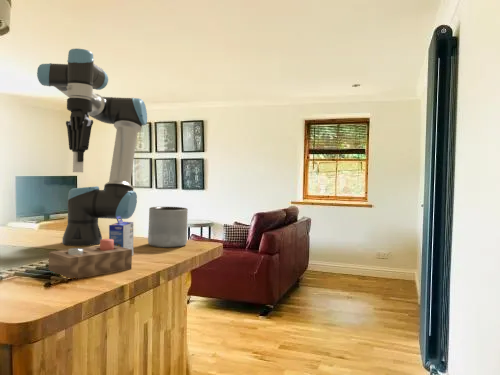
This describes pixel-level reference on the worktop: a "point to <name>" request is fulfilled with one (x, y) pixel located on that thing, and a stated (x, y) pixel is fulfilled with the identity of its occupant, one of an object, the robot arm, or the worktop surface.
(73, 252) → the grey plug
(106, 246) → the red plug
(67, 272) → the walnut block
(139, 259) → the worktop surface
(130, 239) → the ink cartridge box
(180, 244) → the planter
